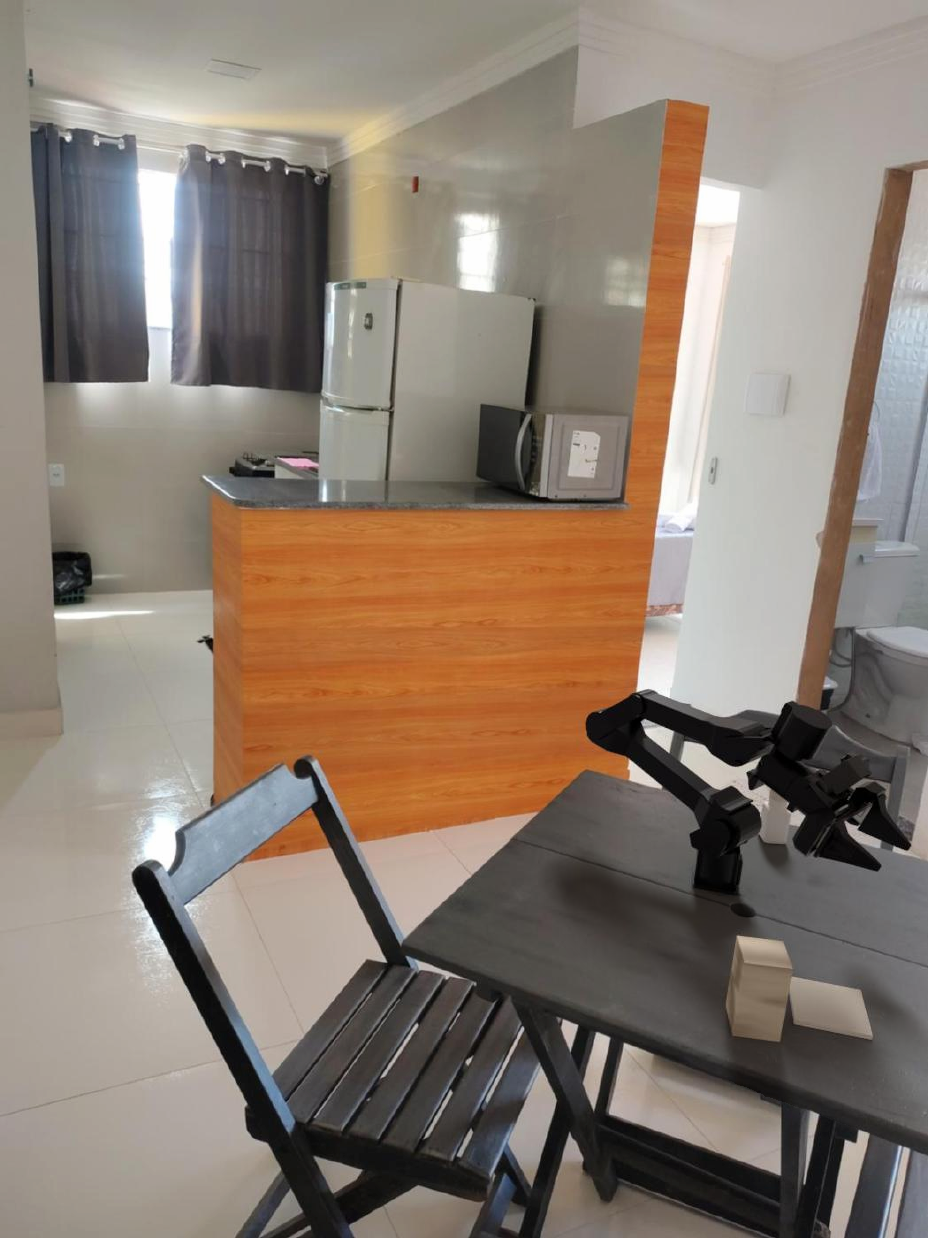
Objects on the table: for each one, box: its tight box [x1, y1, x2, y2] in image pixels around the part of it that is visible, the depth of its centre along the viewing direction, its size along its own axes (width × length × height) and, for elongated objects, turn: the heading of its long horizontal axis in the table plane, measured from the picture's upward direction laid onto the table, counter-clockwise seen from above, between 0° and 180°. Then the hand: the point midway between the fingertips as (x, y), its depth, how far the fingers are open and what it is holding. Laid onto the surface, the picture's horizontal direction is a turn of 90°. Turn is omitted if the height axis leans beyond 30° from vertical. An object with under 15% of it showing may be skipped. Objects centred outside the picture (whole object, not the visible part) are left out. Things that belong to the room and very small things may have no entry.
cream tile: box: [788, 976, 874, 1041], centre depth 117 cm, size 9×9×1 cm
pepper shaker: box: [758, 788, 792, 845], centre depth 159 cm, size 4×4×10 cm
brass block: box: [725, 935, 794, 1043], centre depth 112 cm, size 6×6×10 cm
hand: (895, 858), depth 124 cm, fingers open, 9 cm apart
